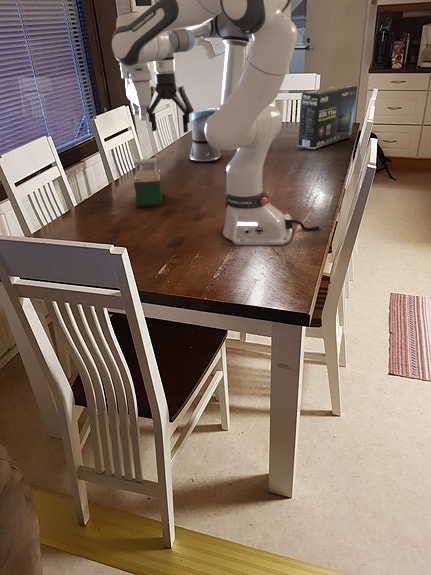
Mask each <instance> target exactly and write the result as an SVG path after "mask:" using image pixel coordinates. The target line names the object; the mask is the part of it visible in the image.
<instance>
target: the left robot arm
mask: <svg viewBox="0 0 431 575" xmlns="http://www.w3.org/2000/svg"><path fill="white" fill-rule="evenodd" d="M246 32H249V31H246ZM167 33H168V35H169V37H170V43H171V46H170V52H169V54H168V56H167V57H166V58H165V59H162V60H160V61H154V62H153V68H154V72H155V73H154V80H155V85H156V86H154V85H151V102H152V101H153V97H154V94H155V92H156V93H157V95H156V96H155V98H154V101H153V102H152V103H151V105H150V107H147V111H146V114H147V115H148V122H149V123H150V124H151V132H156V131H157V130H158V129H157V118H156V112H155V110H156V108H157V107H158V105H159V103H160V101H161V100H172V102H174V103H175V104H176V106H177V107H178V108H179V109H180V110H181V112H182V113H183V114H182V115H181V116H182V127H183V128H182V129H183V134H184V133H188V132H189V123H191V124H190V125H191V137H192V145H191V148H190V153H189V161H191V162H192V163H193V162H194V163H197V164H207V163H208V164H209V163H214V162H218V161H220V160H221V156H222V155H221V150H215V149H213V148H212V147H211V146H210V145H209V143H208V142H207V140H206V137H205V132H204V129H205V123H206V121H207V119H208V117H209V116H211V115H212V114H213V113H215V112H216V111H217V110H218V109H219V108H220V107H221V106H222V105H223V104H224V102H225V101H226V100H227V98H228V97H229V96H230V94H231V93H232V91H233V90H234V88H235V86H236V84H237V83H238V80H239V78H240V75H241V72H242V69H243V67H244V63H245V51H246V47H247V46H248V45H249V44H250V39H252V34H250V35H246V34H244V33H242V32H241V31H240V29H239V28H238V27H236V26H234V25H233V24H232V23H230V22H229V21H228V20H227V18H226V17H225V16H224V14H223V12H222V11H221V12H220V13H219V14H218V15H217V16H215V17H214V18H212V19H211V20H209V21H207V22H205V23H203V24H200V25H194V26H186V27H179V28H174V29H170V30H167ZM209 38H211V39H212V38H215V39H222V43H223V45H224V58H223V70H222V81H221V92H220V103H219V105H218V106H217V107H216V108H214V107H211V108H209V107H208V108H202V109H196V110H194V108H193V106H192V104H191V102H190V99H189V98H188V95H187V94H186V92H185V86H183V85H181V86H177V81H176V72H175V71H176V68H175V67H176V66H175V54H176V53H186V52H189V51H191V50H193V48H194V47H195V43H196V39H202V40H204V39H209ZM177 93H178V94H179V95H177ZM179 96H180V97H179ZM180 98H181V99H180ZM190 117H191V118H190ZM190 119H191V120H190Z"/></svg>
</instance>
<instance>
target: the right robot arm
mask: <svg viewBox="0 0 431 575" xmlns="http://www.w3.org/2000/svg"><path fill="white" fill-rule="evenodd" d="M292 2H293V0H158V1H157V2H155V3H154V4H153V5H151V6H150V7H149V8H148V9H146V11H144V12H143V13H141V12H140V11H127V12H123V13H120V14H119V15H118V16H117V17H116V28H115V30H114V32H113V34H112V36H111V40H110V46H111V47H110V48H111V51H112V54H113V55H114V57H115V58H116V60H117V61H118V62H119V68H120V74H121V75H120V76H121V79H123V80H124V81H125V82H124V83H125V94H126V97H127V99H128V100H129V101H130V102H131V107H132V112H133V115H134V116H139V119H140V120H141V121H144V122H145V121H147V112H146V111H147V107H149V108H150V107H151V105H152V101H151V86H152V85H151V81H152V78H153V77H152V71H150V67H149V66H150V65H149V63H154V61H160V60H162V59H165V58H166V57H167V56H168V54H169V52H170V46H171V43H170V37H169V35H168V33H167V30H170V29H174V28H179V27H186V26H194V25H200V24H203V23H205V22H207V21H209V20H211V19H212V18H214V17H215V16H217V15H218V14H219V13H220V12H221V11H222V12H223V14H224V16H225V17H226V18H227V20H228V21H229V22H230V23H232V24H233V25H234V26H236V27H238V28H239V29H240V31H241V32H242V33H244V34H246V35H250V34H252V38H251V42H250V46H249V49H248V52H247V55H246V58H245V60H244V63H243V69H242V72H241V75H240V78H239V80H238V83H237V84H236V86H235V88H234V90H233V91H232V93H231V94H230V96H229V97H228V98H227V100H226V101H225V102H224V104H223V105H222V106H221V107H220V108H219V109H218V110H217V109H216V110H217V111H216V112H215V113H213V114H212V115H211V116H209V117H208V119H207V121H206V123H205V129H204V132H205V137H206V140H207V142H208V143H209V145H210V146H211V147H212V148H213V149H215V150H219V151H233V150H236V152H235V154H234V155H233V157H232V158H231V160H229V162H228V163H227V164H226V169H225V177H226V178H225V179H226V180H225V181H226V182H225V183H226V190H225V194H224V205H225V209H226V210H225V218H224V219H225V220H224V226H223V229H222V235H223V237H225V239H228V240H230V241H232V243H233V244H234V245H236V246H283V245H286V244H288V243H289V242H290V240H291V239H292V237H293V224H297V225H299V226H300V228H301V229H302V230H303V231H310V232H311V231H315V230H316V231H317V230H320V226H319V225H316V226H311V227H306V226H305V225H304V223H303V222H302V221H300V220H297V219H293V218H292V216H291V215H290V214H289V213H287V214H284V213H283V212H282V211H280V210H279V209H278V208H277V207H276V206H275V205H272V204H271V203H270V202H269V194H270V192H269V191H267V192H266V191H265V190H263V178H264V177H263V176H264V166H265V162H266V157H267V154H268V152H269V150H270V148H271V145H272V143H273V141H274V140H275V139H276V137H277V136H278V135H279V134H280V132H281V130H282V127H283V118H282V114H281V112H280V110H279V108H278V107H277V106H276V105H273V103H274V102H275V100H276V99H277V97H278V95H279V92H280V90H281V87H282V85H283V82H284V80H285V77H286V75H287V73H288V70H289V68H290V65H291V62H292V59H293V56H294V52H295V47H296V44H297V38H298V29H297V26H296V25H295V23H294V22H293V21H292V20H291V19H290V18H289V17H287V16H285V14H284V12H285V11H286V10H287V9H288V8H289V6H290V5H291V4H292ZM246 31H249V32H246Z"/></svg>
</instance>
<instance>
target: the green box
mask: <svg viewBox="0 0 431 575" xmlns="http://www.w3.org/2000/svg"><path fill="white" fill-rule="evenodd" d="M134 194H135V199H136V200H135V202H136V207H137V208H138V209H139V208H140V209H141V208H154V207H155V208H156V207H157V208H158V207H162V206H163V187H162V177H161V175H160V183H158V184H142V185H134Z"/></svg>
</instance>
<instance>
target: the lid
mask: <svg viewBox="0 0 431 575" xmlns="http://www.w3.org/2000/svg"><path fill="white" fill-rule="evenodd" d="M141 165H153V168H154V169H139V170H138V166H141ZM133 166H134V171H135V175H134V180H133V185H134V186H135V185H142V184H158V183H160V176H161V169H160V168H157V158H140V159H133Z"/></svg>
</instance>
